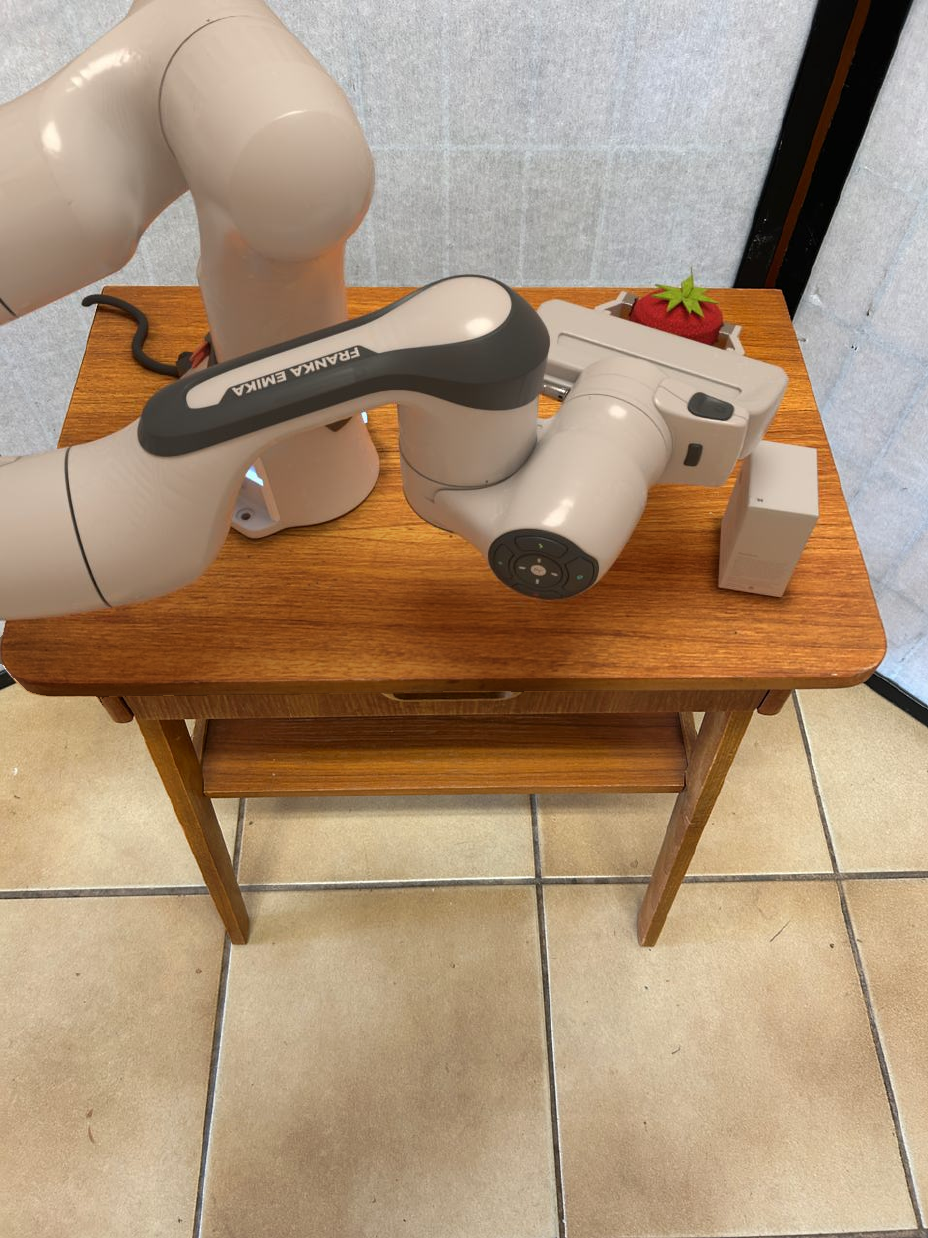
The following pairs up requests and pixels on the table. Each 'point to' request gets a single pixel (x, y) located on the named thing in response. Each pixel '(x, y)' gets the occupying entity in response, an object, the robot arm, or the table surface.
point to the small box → (769, 518)
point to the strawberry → (680, 312)
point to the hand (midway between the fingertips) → (680, 315)
